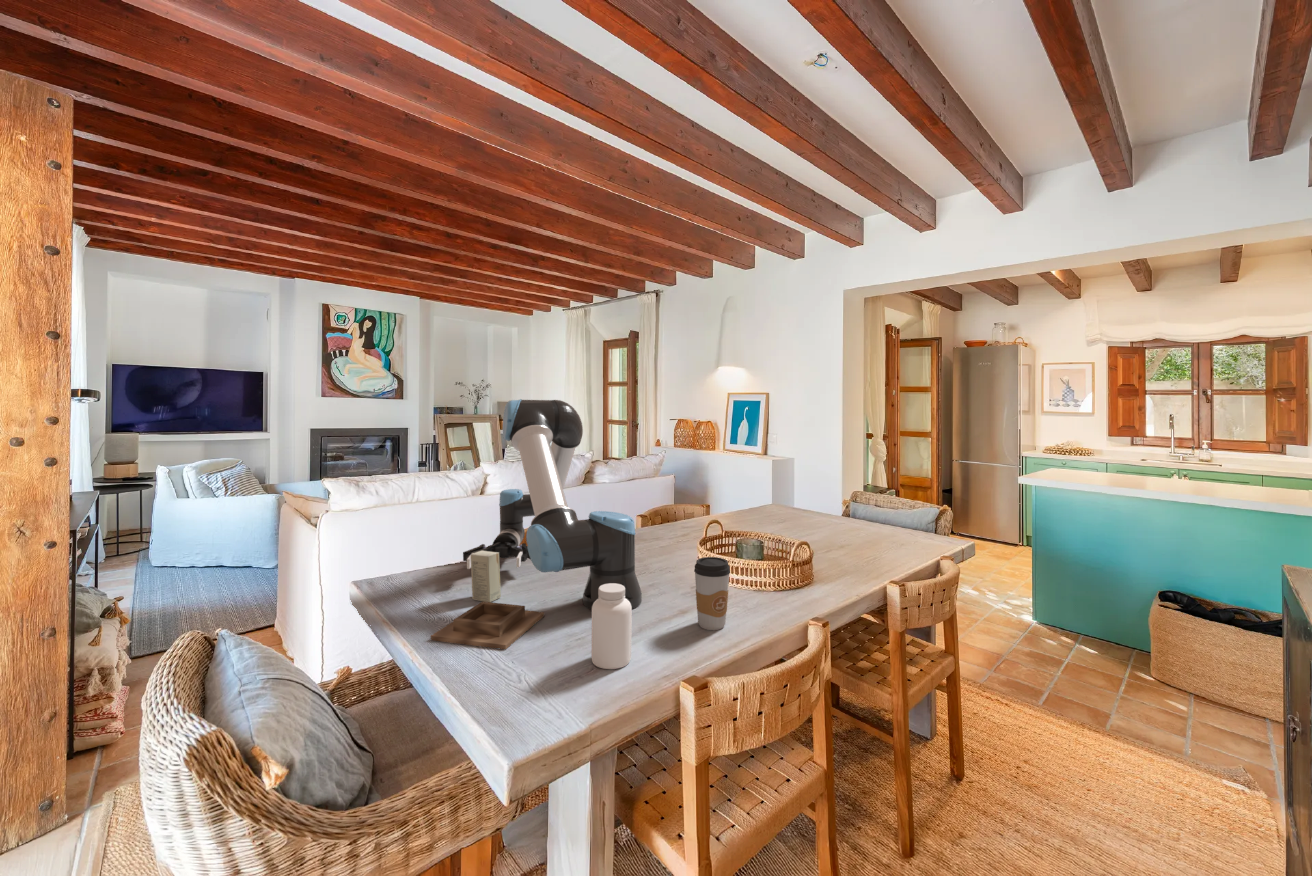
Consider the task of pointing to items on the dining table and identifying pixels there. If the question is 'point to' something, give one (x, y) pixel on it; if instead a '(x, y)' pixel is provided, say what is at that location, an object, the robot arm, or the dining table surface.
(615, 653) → the pill bottle
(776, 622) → the dining table surface
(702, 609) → the coffee cup
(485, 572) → the skincare box
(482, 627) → the socket holder
